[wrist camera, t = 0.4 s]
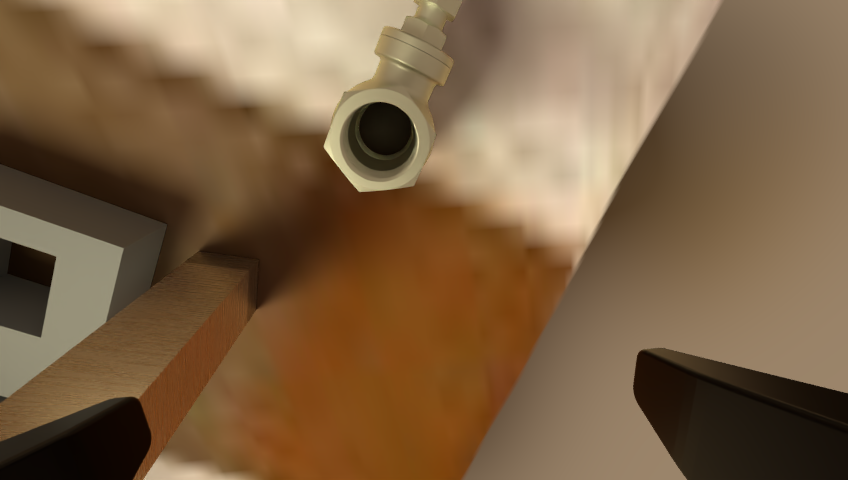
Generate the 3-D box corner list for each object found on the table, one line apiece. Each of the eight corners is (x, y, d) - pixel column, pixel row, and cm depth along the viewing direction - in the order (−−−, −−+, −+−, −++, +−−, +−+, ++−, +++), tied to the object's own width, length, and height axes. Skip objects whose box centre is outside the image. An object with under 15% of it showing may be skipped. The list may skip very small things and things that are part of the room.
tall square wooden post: (198, 251, 21) (-73, 459, 9) (258, 259, 22) (76, 470, 9) (198, 303, 22) (-49, 556, 10) (255, 310, 22) (86, 563, 10)
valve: (429, 194, 21) (543, -55, 18) (442, 233, 15) (621, -137, 12) (305, 140, 20) (404, -138, 17) (263, 158, 14) (408, -279, 10)
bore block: (-35, 151, 19) (-125, 162, 16) (167, 224, 21) (123, 248, 17) (-60, 373, 22) (-138, 421, 19) (114, 420, 24) (69, 471, 21)
